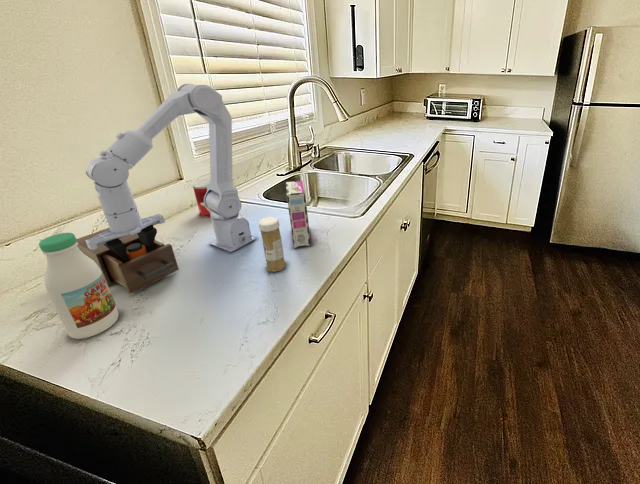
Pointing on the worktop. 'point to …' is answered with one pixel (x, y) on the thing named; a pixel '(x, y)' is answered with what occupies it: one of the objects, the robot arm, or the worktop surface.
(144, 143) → the robot arm
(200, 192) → the red coffee cup
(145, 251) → the orange cylinder
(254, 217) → the worktop surface
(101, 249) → the cabinet
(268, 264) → the sprinkles bottle
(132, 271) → the drawer
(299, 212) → the candy bar box
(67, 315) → the milk bottle
